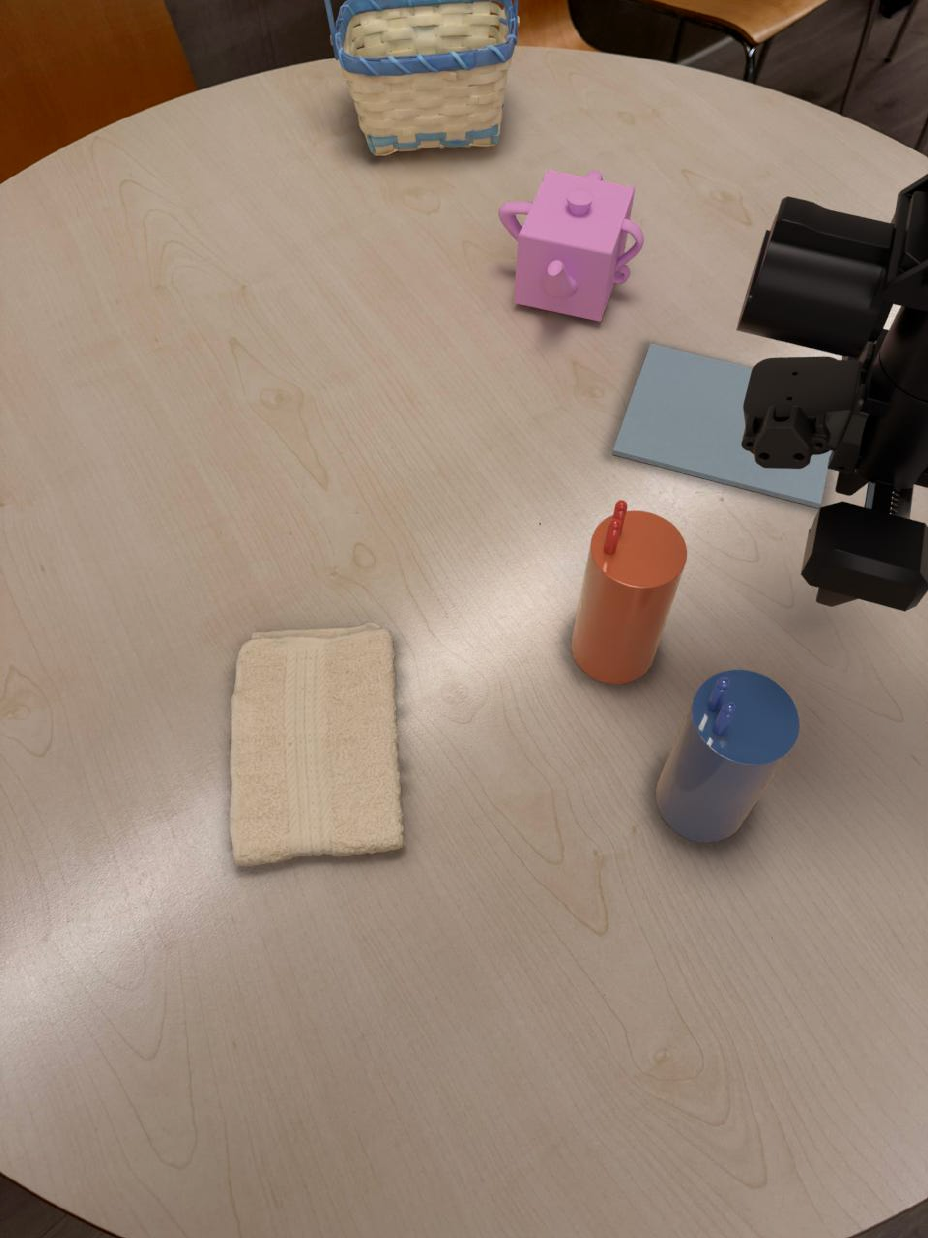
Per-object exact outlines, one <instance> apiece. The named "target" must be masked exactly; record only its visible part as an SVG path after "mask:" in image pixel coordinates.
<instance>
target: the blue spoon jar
mask: <svg viewBox="0 0 928 1238" xmlns="http://www.w3.org/2000/svg"><path fill="white" fill-rule="evenodd" d="M800 723H801V722H800V716H799V712H798V710H797V706H796V704H795V702H794V700H793V699H792V697H791V695H790V694H789V693H788V692H787V691H786V690H785V688H784V687H782V686H781V685H780V684H779V683H778V682H776V681H775V680H773V679H772V678H770V677H768V676H766V675H764V674H762V673H759V672H756V671H754V670H753V671H752V670H748V669H729V670H728V669H727V670H724V671H720V672H718V673H716V674H713V675H711V676H709V678H707V679H706V680H704V681H703V682H702V683H701V685H700V686H699V687H698V688H697V690H696V692H695V694H694V696H693V698H692V701H691V703H690V705H689V708H688V710H687V711H686V715H685V717H684V720H683V721H682V724H681V726H680V729H679V730H678V734H677V736H676V738H675V741H674V743H673V745H672V748H671V751H670V752H669V755H668V757H667V759H666V762H665V764H664V767H663V769H662V771H661V773H660V776H659V778H658V781H657V783H656V786H655V787H656V788H655V802H656V807H657V809H658V812H659V814H660V816H661V819H663V821H664V823H666V825H667V826H668V827H669V828H670V829H671V830H673V831H674V832H675V833H676V834H677V835H679V836H681V837H683V838H685V839H687V840H690V841H693V842H697V843H704V844H705V843H706V844H709V843H710V844H711V843H717V842H718V843H719V842H722V841H724V840H726V839H728V838H730V837H731V836H733V835H734V834H735V833H736V832H738V830H739V829H740V828H741V826H742V825H743V823H744V822H745V820H746V819H747V817H748V816H749V815H750V813H751V811H752V810H753V808H754V807H755V805H756V804H757V802H758V800H759V799H760V797H761V796H762V794H763V793H764V791H765V790H766V789H767V787H768V785H769V784H770V782H771V781H772V779H773V778H774V777H775V775H776V773H777V771H778V770H779V769H780V767H781V766H782V764H783V763H784V762H785V760H786V758H787V757H788V755H789V753H790V752H791V751H792V749H793V747H794V746H795V744H796V743H797V740H798V738H799V734H800Z"/></svg>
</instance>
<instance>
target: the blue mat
mask: <svg viewBox="0 0 928 1238" xmlns="http://www.w3.org/2000/svg"><path fill="white" fill-rule="evenodd" d="M752 369H753V367H752V366H751V367H750V366H747V365H743V364H740V363H739V364H738V363H735V362H730V361H726V360H722V359H718V358H713V357H709V356H705V355H701V354H697V353H692V352H689V351H688V352H687V351H685V350H680V349H675V348H671V347H667V346H665V345H664V346H663V345H660V344H655V343H649V346H648V348H647V351H646V354H645V357H644V360H643V362H642V366H641V368H640V371H639V374H638V377H637V379H636V382H635V385H634V387H633V388H634V389H633V391H632V394H631V397H630V401H629V403H628V404H627V405H628V406H627V408H626V411H625V414H624V417H623V420H622V423H621V426H620V428H619V432H618V434H617V437H616V439H615V443H614V446H613V448H612V451H611V455H613V456H617V457H621V458H625V459H628V460H632V461H637V462H641V463H645V464H648V465H652V466H655V467H659V468H663V469H667V470H671V471H675V472H679V473H682V474H686V475H690V476H694V477H698V478H701V479H705V480H709V481H713V482H717V483H719V484H720V483H721V484H725V485H728V486H732V487H735V488H740V489H743V490H747V491H751V492H756V493H759V494H762V495H766V496H771V497H774V498H777V499H782V500H785V501H790V502H793V503H797V504H801V505H804V506H809V507H813V508H816V509H820V507H821V505H822V502H823V496H824V493H825V492H824V491H825V487H826V482H827V476H828V472H829V469H827V467H828V462H829V457H830V455H831V453H832V450H830V451H829V452H826V453H824V454H819V455H812V456H811V461H810V464H809V465H808V466H806V467H805V468H803V469H771V468H763V467H761V466H760V465H758V464H757V463H756V462H755V458H754V454H753V453H751V452H750V451H747V450H745V449H744V448H743V447H742V445H741V443H742V439H743V435H744V431H745V427H746V426H745V418H744V410H743V404H744V400H745V396H746V392H747V388H748V384H749V380H750V376H751V372H752Z"/></svg>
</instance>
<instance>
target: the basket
mask: <svg viewBox="0 0 928 1238" xmlns="http://www.w3.org/2000/svg"><path fill="white" fill-rule="evenodd" d="M323 2H324V6H325V10H326V16H327V20H328V21H327V22H328V26H329V31H330V35H329V39H330V40H329V41H330V45H331V46H332V49H333V54H334V60H335V61H339V64H340V68H341V72H342V76H343V77H344V78H345V80H346V85H347V88H348V89H347V90H348V92H349V95H350V97H351V99H352V100H353V105H354V109H355V112H356V114H357V119H358V125H359V128H360V130H361V131H362V133H363V134H364V137H365V140H366V144H367V147H368V149H369V151H370V153H372V154H373V155H374V156H376V157H377V156H388V155H391V154H393V153H396V152H412V151H418V149H431V148H434V149H435V148H442V147H445V148H465V147H466V146H469V147H471V146H472V147H483V148H484V147H494V146H497V145H498V144H499V143H500V138H501V127H502V119H503V109H504V106H505V105H504V102H505V87H506V85H507V83H508V74H509V68H511V66H512V60H513V55H514V53H515V47H516V46H517V44H518V39H519V37H518V34H519V33H518V28H520V26H521V19H520V16H519V0H513V1H512V0H346V1H344V2H343V4H342V5H341V6H340V7H339V12H338V15H337V19H336V21H335V19H334V12H333V9H332V4H331V0H323ZM495 2H496V3H495ZM497 2H498V3H499V4H501V5H502V6H503V8H501V7H500V6H499V4H498V3H497ZM491 13H493V14H491ZM495 26H496V27H498V29H497V28H496V27H495Z"/></svg>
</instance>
